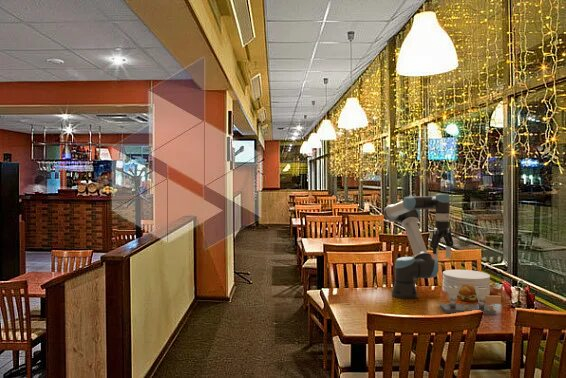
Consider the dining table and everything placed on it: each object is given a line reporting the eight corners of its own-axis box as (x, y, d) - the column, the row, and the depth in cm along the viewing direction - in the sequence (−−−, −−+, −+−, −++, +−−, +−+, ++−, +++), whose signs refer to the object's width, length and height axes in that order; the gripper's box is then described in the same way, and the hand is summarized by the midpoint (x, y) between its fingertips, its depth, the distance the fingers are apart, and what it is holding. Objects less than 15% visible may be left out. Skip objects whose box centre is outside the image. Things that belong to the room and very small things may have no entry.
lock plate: (445, 313, 246) (445, 302, 246) (439, 306, 258) (439, 296, 258) (495, 314, 244) (495, 303, 244) (487, 308, 256) (487, 297, 256)
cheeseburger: (480, 299, 274) (479, 284, 272) (473, 307, 267) (472, 291, 265) (464, 296, 281) (462, 280, 279) (456, 303, 274) (455, 288, 272)
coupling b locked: (478, 303, 248) (478, 287, 248) (475, 301, 253) (475, 286, 253) (501, 304, 247) (502, 288, 247) (498, 302, 252) (498, 286, 251)
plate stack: (486, 299, 275) (486, 280, 274) (438, 293, 289) (438, 275, 289) (492, 290, 298) (492, 272, 298) (447, 284, 313) (448, 267, 313)
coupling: (458, 303, 249) (458, 287, 249) (449, 303, 250) (449, 287, 250) (451, 297, 261) (452, 282, 261) (443, 297, 262) (444, 282, 262)
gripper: (435, 222, 254) (434, 261, 255) (460, 220, 268) (459, 257, 268) (423, 221, 260) (423, 259, 261) (449, 219, 274) (448, 255, 274)
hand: (441, 258), depth 264 cm, fingers open, 11 cm apart
